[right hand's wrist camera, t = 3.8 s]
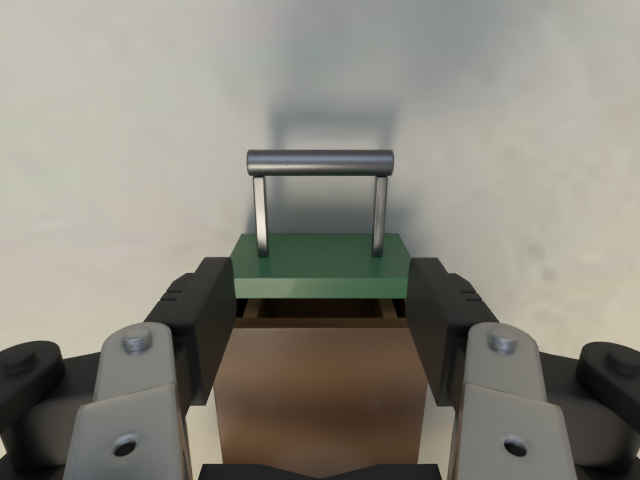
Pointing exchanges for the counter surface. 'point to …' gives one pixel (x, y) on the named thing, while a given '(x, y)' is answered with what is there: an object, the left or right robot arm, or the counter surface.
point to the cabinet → (320, 393)
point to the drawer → (320, 247)
